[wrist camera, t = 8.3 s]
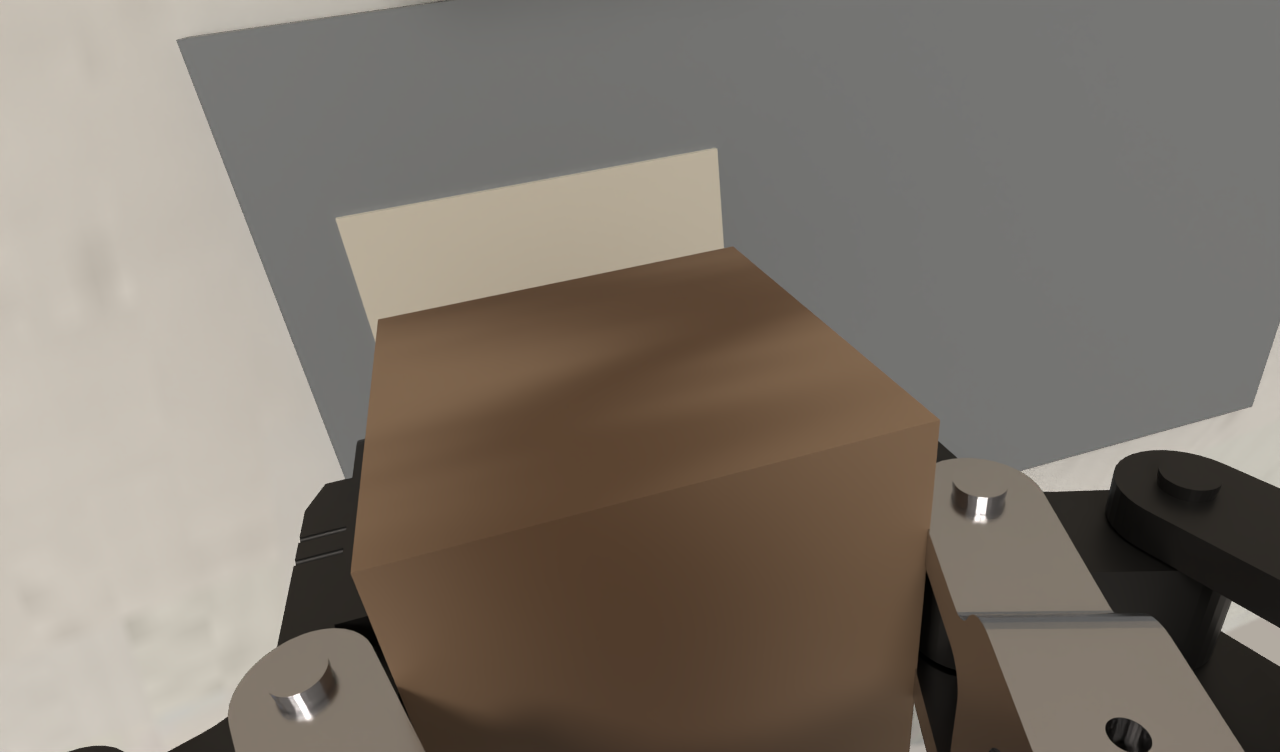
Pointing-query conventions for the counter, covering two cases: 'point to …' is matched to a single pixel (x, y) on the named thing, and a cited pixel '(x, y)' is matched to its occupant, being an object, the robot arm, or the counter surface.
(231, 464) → the counter surface
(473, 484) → the walnut block
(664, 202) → the build mat
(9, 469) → the counter surface
